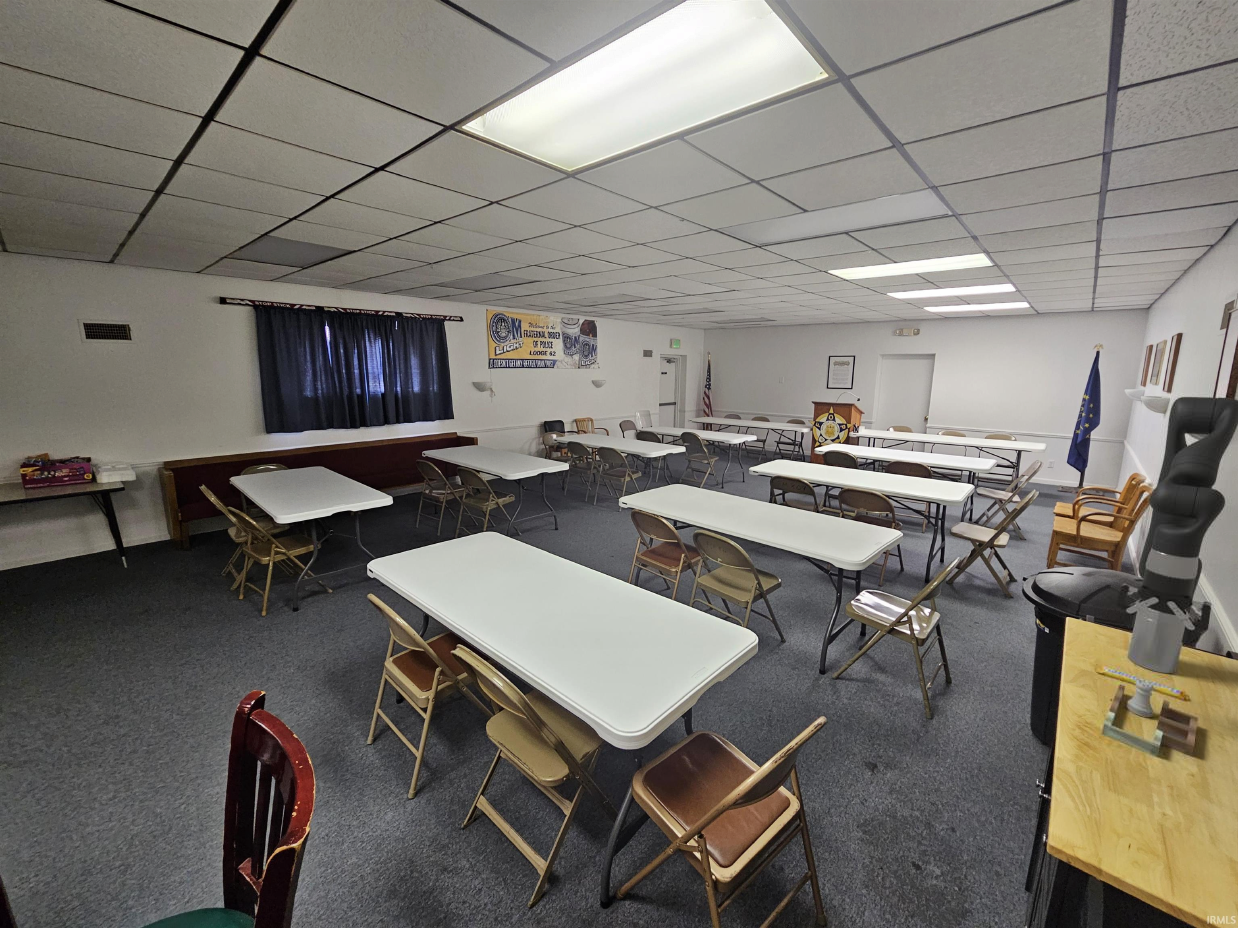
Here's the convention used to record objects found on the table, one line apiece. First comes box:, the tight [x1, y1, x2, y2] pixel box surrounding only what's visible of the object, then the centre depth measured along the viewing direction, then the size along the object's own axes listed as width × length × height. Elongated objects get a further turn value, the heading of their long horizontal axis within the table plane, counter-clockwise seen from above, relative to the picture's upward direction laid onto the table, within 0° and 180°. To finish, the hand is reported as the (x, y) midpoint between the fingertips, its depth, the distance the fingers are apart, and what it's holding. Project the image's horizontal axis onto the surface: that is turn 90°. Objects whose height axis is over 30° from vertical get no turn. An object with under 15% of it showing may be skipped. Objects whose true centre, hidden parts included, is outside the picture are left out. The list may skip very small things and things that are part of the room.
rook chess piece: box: [1125, 678, 1155, 718], centre depth 115 cm, size 4×4×8 cm
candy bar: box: [1094, 663, 1189, 701], centre depth 126 cm, size 17×4×2 cm, turn 43°
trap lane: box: [1101, 684, 1199, 758], centre depth 110 cm, size 23×13×2 cm, turn 128°
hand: (1155, 633), depth 112 cm, fingers open, 8 cm apart
